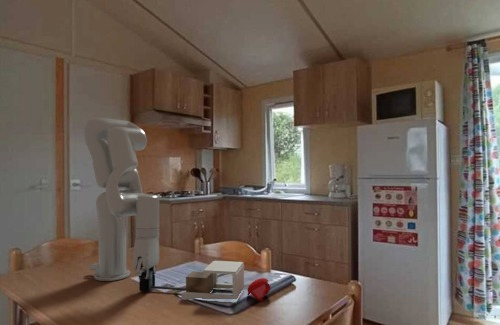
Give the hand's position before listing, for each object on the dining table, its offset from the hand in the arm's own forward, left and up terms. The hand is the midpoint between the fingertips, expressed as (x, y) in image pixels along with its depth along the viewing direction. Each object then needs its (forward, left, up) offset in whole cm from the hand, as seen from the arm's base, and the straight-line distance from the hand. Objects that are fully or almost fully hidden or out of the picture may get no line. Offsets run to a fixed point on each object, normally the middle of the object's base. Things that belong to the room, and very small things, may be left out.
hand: (147, 288), depth 115 cm
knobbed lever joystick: (+10, 0, -1) cm, 10 cm away
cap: (+37, 0, -1) cm, 37 cm away
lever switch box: (+22, 0, -1) cm, 22 cm away
